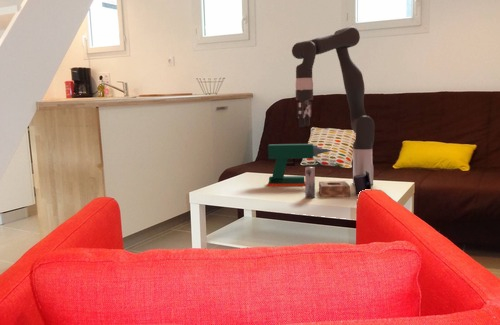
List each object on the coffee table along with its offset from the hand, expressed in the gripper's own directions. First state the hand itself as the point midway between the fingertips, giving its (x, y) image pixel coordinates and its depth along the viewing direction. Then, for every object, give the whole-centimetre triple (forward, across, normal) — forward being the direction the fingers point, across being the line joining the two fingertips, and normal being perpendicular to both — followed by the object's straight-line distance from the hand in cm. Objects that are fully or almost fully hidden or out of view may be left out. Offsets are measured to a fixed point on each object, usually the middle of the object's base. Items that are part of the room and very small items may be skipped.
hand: (304, 126), depth 203 cm
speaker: (+30, -4, +25) cm, 39 cm away
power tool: (+30, -21, -8) cm, 38 cm away
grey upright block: (+30, +7, +4) cm, 31 cm away
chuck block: (+30, -3, +12) cm, 33 cm away
